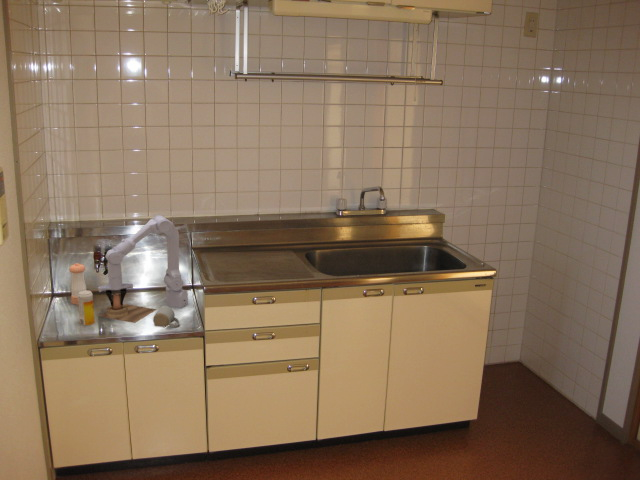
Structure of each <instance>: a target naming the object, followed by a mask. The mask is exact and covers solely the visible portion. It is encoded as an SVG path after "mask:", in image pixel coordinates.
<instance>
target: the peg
mask: <svg viewBox="0 0 640 480" xmlns="http://www.w3.org/2000/svg"><path fill="white" fill-rule="evenodd" d="M112 302H113V310H120V309H121V293H114V294H113V293H112Z"/></svg>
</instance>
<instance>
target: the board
mask: <svg viewBox="0 0 640 480" xmlns="http://www.w3.org/2000/svg"><path fill="white" fill-rule="evenodd" d="M123 304H124V305H127V307H128V314H127V315H126V316H124V317H119V318H111V317H108V316H107V311H105V312H104V313H102V314H100V315H98V317H99V318H101V317H102V318H106V319H110V320H117V321H121V322H128V323H133V324H136V323H137V322H139V321H141V320H142V319H144V318H145V317H147V316H149V315H150V314H152V313H154V312H155V311H158V309H156V308H153V307H151V308H150V307H146V306H140V305H139V306H138V305H133V304H127V303H123Z"/></svg>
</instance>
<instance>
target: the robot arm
mask: <svg viewBox="0 0 640 480" xmlns="http://www.w3.org/2000/svg"><path fill="white" fill-rule="evenodd" d="M159 232H160V233H162V234H165V235H166V237H167V247H166V248H167V253H166V254H167V269H166V271H165V276H164V278H163V281H164V283H165V284H166V287H165V297H166V298H165V302H166V304H165V305H166V306H168V307H170V308H177V309H183V308H184V307H186V306H187V305H188V304H189V296H188V295H189V294H188V291H187V290H185V289H184V288H183V286H184V281H183V280H182V279H183V278H182V274H181V271H180V233H179V230H178V229H177V228H176V226H175V224H174V222H172V221H171V220H169V219H168V218H167V217H165V216H164V215H161V214H158V215H155V216H154V217H152V218H150V219H149V220H148V222H147V223H145V225H143V226H142V227H141V228H140V229H139V230H138V231H136V233H135V234H134V235H133V236H131V237H127V238H122V239H121V242H119V243H118V244H117V245H116V246H113V247H112V248H111V249H109V250H108V251H107V252H106V254H105V255H104V257H105V259H106V260H107V274H108V275H107V276H108V277H107V278H108V284H106V285H101V286H98V293H102V292H105V295H106V296H107V298H108V300H109V303H110V305H111V306H113V302H112V295H113V291H120V292H119V294H120V295H121V306H122V305H123V304H124V300H125V296H126V294H127V291H128V290H133V289H134V284H133V283H123V274H122V273H123V272H122V262H123V258H125V257H126V256H127V255H128V254H130V253H131V252H132V251H133V250H134V249H135V248H136V245H137V244H138V243H139V242H140V241H142V240H143V239H144V238H146V237H147V236H148V235H150V234H159Z"/></svg>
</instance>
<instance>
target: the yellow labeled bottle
mask: <svg viewBox="0 0 640 480" xmlns="http://www.w3.org/2000/svg"><path fill="white" fill-rule="evenodd" d="M77 306H78V314H79V315H78V316H79V324H80V325H81V326H90V325H94V324H95V323H96V321H95V319H96V318H95V308H94V307H95V306H94V294H93V292H92V291H91V290H87V289H86V290H85V291H80V292H79V294H78V305H77Z"/></svg>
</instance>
